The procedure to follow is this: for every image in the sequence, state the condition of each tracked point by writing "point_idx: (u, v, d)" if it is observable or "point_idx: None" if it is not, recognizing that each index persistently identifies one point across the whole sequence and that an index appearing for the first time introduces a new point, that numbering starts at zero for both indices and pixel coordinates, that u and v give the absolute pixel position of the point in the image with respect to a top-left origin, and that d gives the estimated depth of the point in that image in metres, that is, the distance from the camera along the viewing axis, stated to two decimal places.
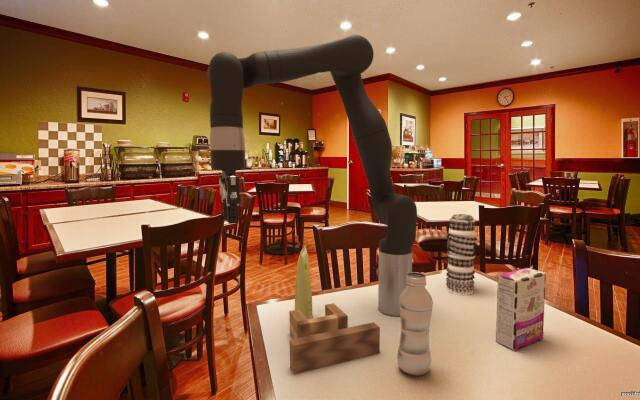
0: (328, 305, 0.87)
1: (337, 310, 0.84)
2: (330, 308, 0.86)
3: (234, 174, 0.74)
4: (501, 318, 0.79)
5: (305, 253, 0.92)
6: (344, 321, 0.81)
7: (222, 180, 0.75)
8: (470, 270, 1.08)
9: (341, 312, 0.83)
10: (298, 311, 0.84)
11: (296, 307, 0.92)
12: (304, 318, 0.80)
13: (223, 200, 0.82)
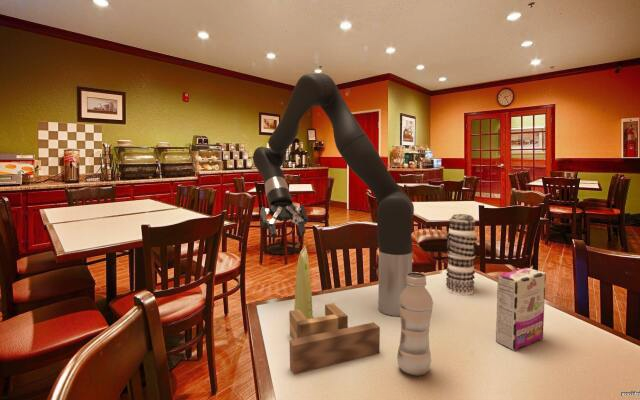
0: (328, 305, 0.87)
1: (337, 310, 0.84)
2: (330, 308, 0.86)
3: (270, 206, 1.06)
4: (500, 318, 0.79)
5: (305, 253, 0.92)
6: (344, 321, 0.81)
7: None
8: (470, 270, 1.08)
9: (341, 312, 0.83)
10: (298, 311, 0.84)
11: (296, 307, 0.92)
12: (304, 318, 0.80)
13: (298, 224, 1.06)
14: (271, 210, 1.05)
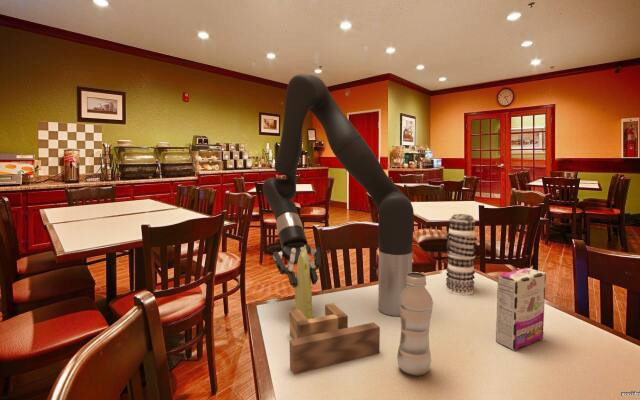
0: (328, 305, 0.87)
1: (337, 310, 0.84)
2: (330, 308, 0.86)
3: (282, 249, 0.95)
4: (500, 318, 0.79)
5: (305, 253, 0.92)
6: (344, 321, 0.81)
7: None
8: (470, 270, 1.08)
9: (341, 312, 0.83)
10: (298, 311, 0.84)
11: (296, 307, 0.92)
12: (304, 318, 0.80)
13: None
14: (285, 252, 0.94)
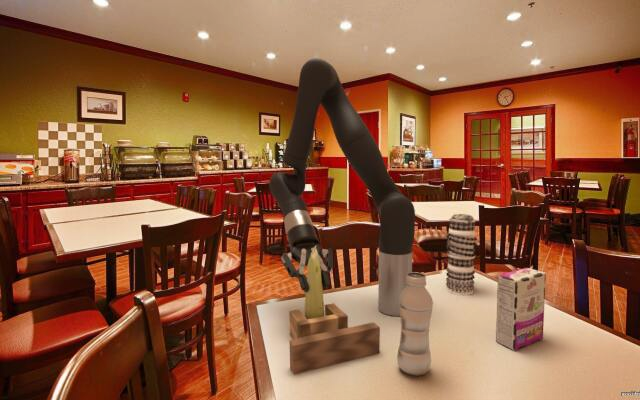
0: (328, 305, 0.87)
1: (337, 310, 0.84)
2: (330, 308, 0.86)
3: (291, 249, 0.87)
4: (500, 318, 0.79)
5: (316, 254, 0.84)
6: (344, 321, 0.81)
7: None
8: (470, 270, 1.08)
9: (341, 312, 0.83)
10: (298, 311, 0.84)
11: (307, 313, 0.84)
12: (304, 318, 0.80)
13: (321, 274, 0.87)
14: (294, 254, 0.86)
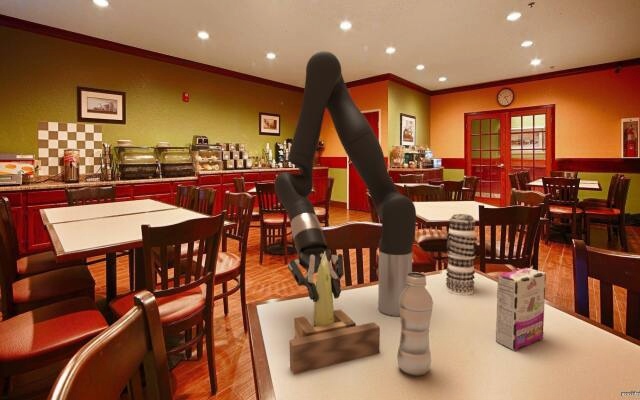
0: (335, 311, 0.84)
1: (344, 317, 0.81)
2: (337, 315, 0.82)
3: (298, 255, 0.81)
4: (501, 318, 0.79)
5: (325, 261, 0.78)
6: None
7: None
8: (470, 270, 1.08)
9: (349, 319, 0.79)
10: (303, 318, 0.80)
11: (316, 325, 0.78)
12: (310, 326, 0.76)
13: None
14: (302, 260, 0.80)
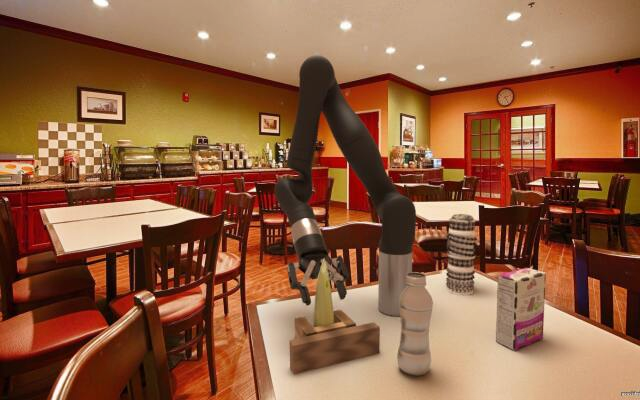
0: (335, 312, 0.83)
1: (345, 317, 0.80)
2: (337, 315, 0.82)
3: (300, 260, 0.81)
4: (500, 318, 0.79)
5: (325, 268, 0.79)
6: None
7: None
8: (470, 270, 1.08)
9: (349, 319, 0.79)
10: (304, 318, 0.80)
11: None
12: (310, 326, 0.76)
13: (336, 283, 0.82)
14: (302, 265, 0.80)
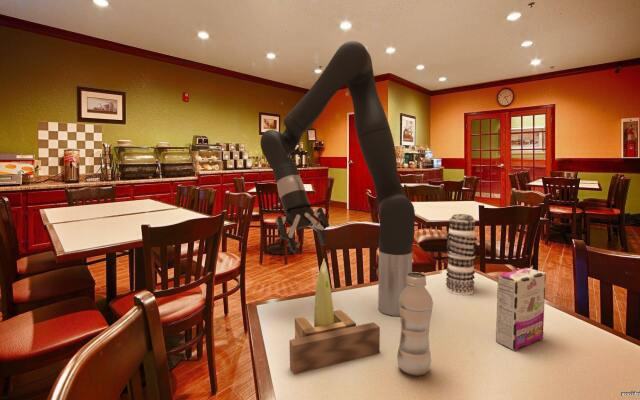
0: (335, 312, 0.83)
1: (345, 317, 0.80)
2: (337, 315, 0.82)
3: (286, 214, 0.94)
4: (501, 318, 0.79)
5: (325, 268, 0.79)
6: None
7: None
8: (470, 270, 1.08)
9: (349, 319, 0.79)
10: (304, 318, 0.80)
11: None
12: (310, 326, 0.76)
13: (317, 231, 0.97)
14: (288, 219, 0.94)
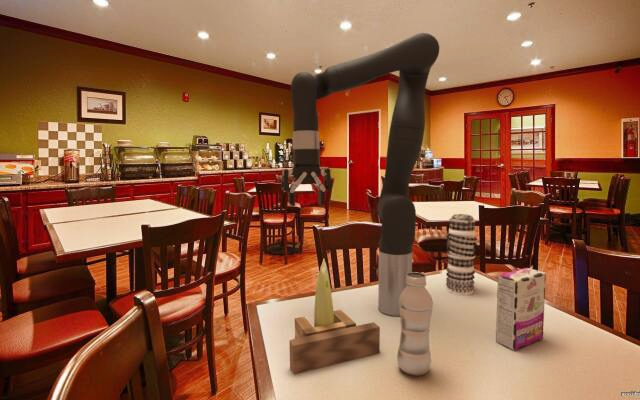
0: (335, 312, 0.83)
1: (345, 317, 0.80)
2: (337, 315, 0.82)
3: (294, 168, 0.95)
4: (501, 318, 0.79)
5: (325, 268, 0.79)
6: None
7: None
8: (470, 270, 1.08)
9: (349, 319, 0.79)
10: (304, 318, 0.80)
11: None
12: (310, 326, 0.76)
13: (319, 189, 1.00)
14: (294, 173, 0.95)
